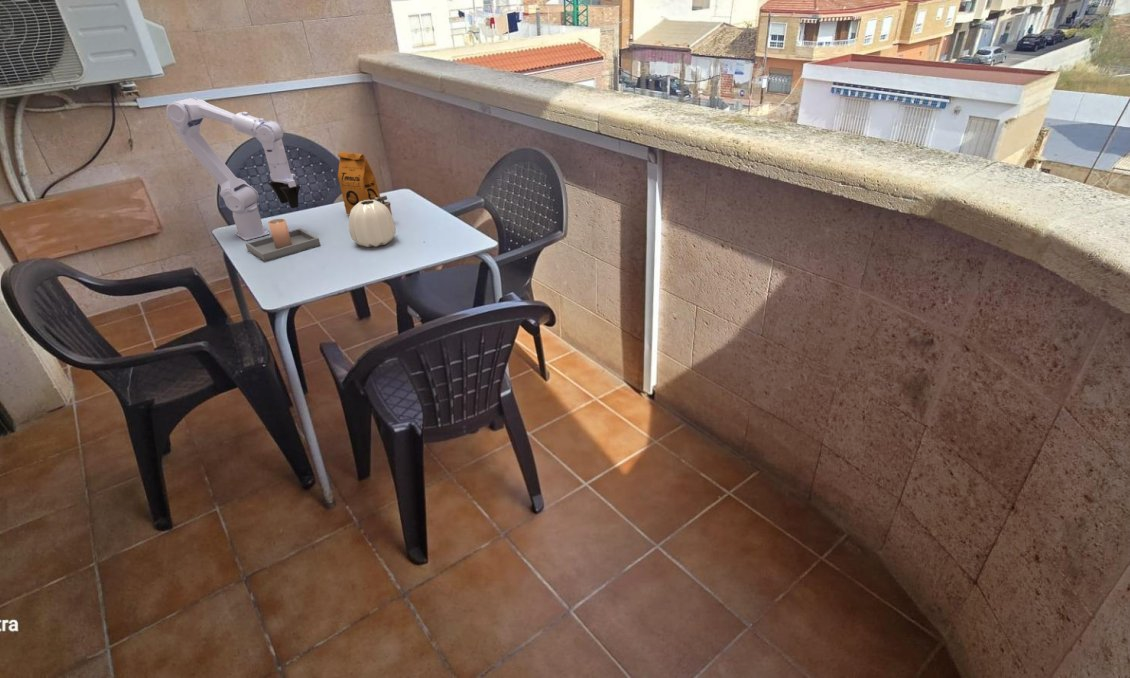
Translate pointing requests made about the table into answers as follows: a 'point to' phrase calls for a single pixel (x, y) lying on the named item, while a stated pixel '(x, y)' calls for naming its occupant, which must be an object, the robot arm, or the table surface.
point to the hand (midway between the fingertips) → (289, 205)
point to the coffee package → (356, 180)
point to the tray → (268, 251)
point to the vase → (371, 224)
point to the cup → (280, 233)
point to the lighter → (384, 202)
